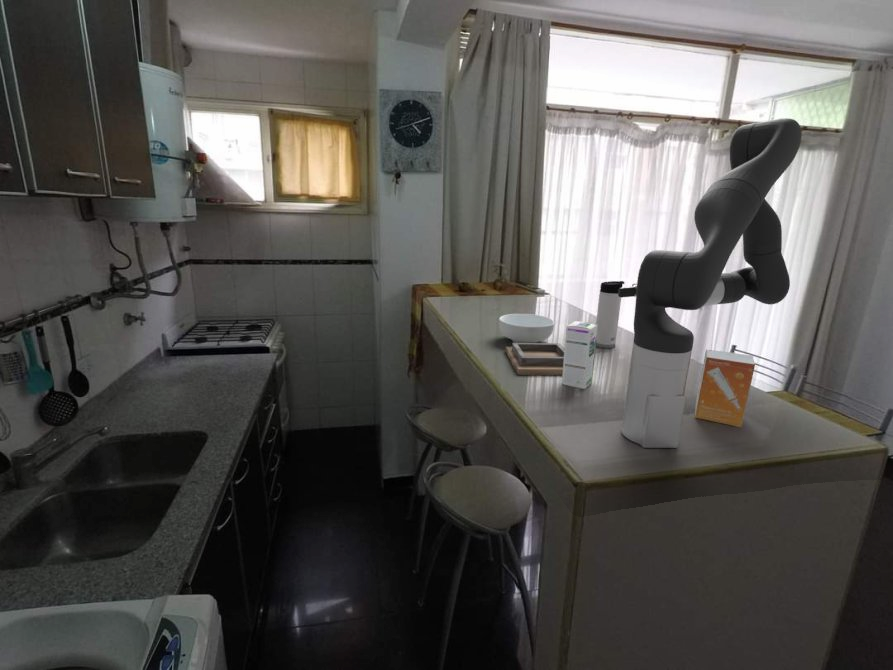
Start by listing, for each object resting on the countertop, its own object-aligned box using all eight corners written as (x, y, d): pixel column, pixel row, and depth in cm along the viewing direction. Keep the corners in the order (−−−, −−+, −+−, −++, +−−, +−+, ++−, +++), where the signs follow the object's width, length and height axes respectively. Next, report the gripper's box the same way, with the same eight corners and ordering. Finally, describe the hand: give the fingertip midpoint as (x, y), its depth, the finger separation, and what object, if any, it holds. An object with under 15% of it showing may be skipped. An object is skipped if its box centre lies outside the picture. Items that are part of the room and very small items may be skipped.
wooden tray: (581, 375, 112) (582, 361, 112) (517, 374, 112) (518, 361, 111) (560, 352, 131) (561, 340, 130) (505, 351, 130) (506, 340, 129)
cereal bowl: (492, 345, 137) (493, 322, 135) (503, 332, 152) (505, 311, 150) (549, 351, 131) (551, 328, 129) (555, 337, 147) (557, 316, 145)
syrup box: (585, 389, 103) (592, 328, 99) (560, 384, 106) (566, 324, 102) (592, 382, 108) (599, 323, 104) (568, 377, 111) (573, 320, 107)
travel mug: (617, 349, 135) (626, 282, 130) (594, 347, 136) (602, 281, 131) (614, 343, 141) (622, 279, 136) (592, 341, 142) (599, 278, 137)
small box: (694, 418, 90) (705, 356, 86) (694, 407, 95) (705, 348, 92) (742, 428, 86) (756, 363, 83) (739, 415, 91) (752, 354, 88)
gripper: (678, 269, 109) (614, 274, 107) (718, 280, 95) (645, 286, 94) (675, 299, 111) (612, 305, 110) (714, 314, 98) (642, 321, 96)
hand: (627, 296), depth 102 cm, fingers open, 8 cm apart
